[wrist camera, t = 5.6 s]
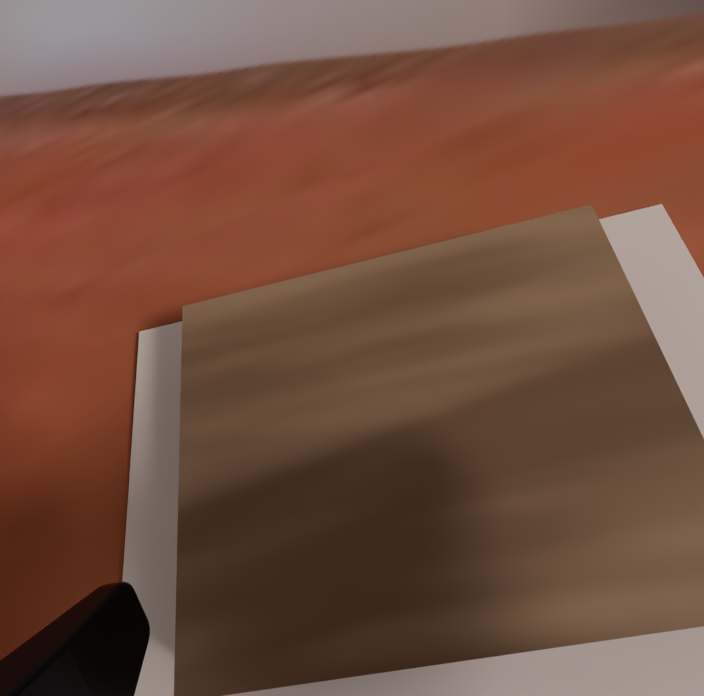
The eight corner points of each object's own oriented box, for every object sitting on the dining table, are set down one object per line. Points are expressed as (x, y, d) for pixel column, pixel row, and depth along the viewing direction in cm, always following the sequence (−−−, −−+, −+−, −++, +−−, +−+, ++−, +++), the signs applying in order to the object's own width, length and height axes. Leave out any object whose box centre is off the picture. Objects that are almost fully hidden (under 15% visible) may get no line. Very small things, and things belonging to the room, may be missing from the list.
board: (787, 614, 9) (591, 204, 14) (173, 703, 11) (182, 306, 16) (731, 613, 11) (577, 256, 16) (222, 687, 13) (217, 342, 18)
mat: (1039, 892, 9) (1054, 900, 9) (104, 964, 11) (95, 972, 11) (659, 210, 17) (661, 204, 16) (143, 335, 19) (139, 331, 19)
